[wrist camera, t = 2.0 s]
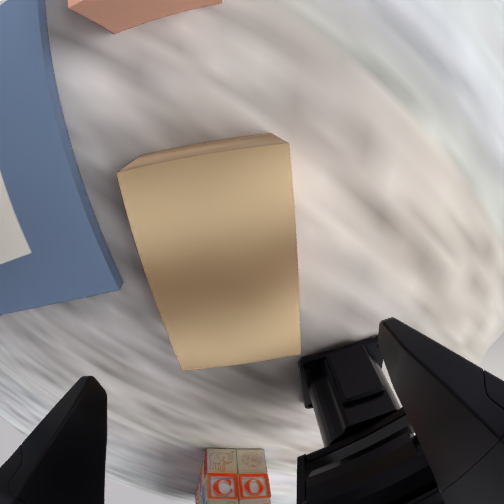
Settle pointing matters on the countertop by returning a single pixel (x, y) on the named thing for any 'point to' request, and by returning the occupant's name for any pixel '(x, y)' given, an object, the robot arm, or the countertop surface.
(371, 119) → the countertop surface
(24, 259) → the board
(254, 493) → the stack of blocks
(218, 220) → the oak brick
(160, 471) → the countertop surface
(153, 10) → the terracotta cube
